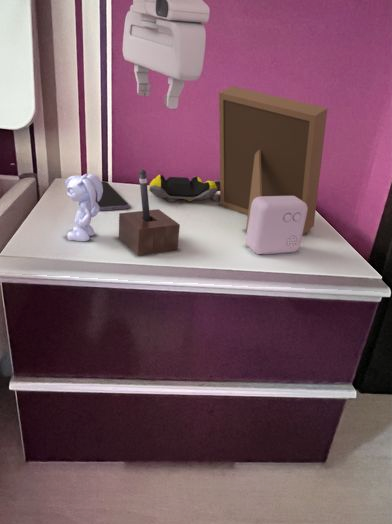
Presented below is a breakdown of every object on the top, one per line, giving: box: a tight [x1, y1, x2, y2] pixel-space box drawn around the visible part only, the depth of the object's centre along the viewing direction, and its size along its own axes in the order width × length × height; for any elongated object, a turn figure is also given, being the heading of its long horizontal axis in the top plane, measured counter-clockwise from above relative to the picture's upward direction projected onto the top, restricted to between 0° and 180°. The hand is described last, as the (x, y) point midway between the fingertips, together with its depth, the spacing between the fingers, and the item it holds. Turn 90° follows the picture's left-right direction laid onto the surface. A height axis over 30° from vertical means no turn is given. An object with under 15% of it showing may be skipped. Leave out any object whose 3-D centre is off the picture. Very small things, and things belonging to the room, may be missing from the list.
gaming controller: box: [148, 174, 218, 202], centre depth 127 cm, size 15×6×10 cm
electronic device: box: [245, 196, 308, 255], centre depth 106 cm, size 10×5×10 cm, turn 111°
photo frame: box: [218, 85, 328, 236], centre depth 114 cm, size 15×22×25 cm
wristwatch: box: [210, 180, 220, 202], centre depth 132 cm, size 4×6×5 cm
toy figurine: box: [64, 173, 103, 242], centre depth 101 cm, size 7×6×12 cm
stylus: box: [138, 169, 150, 222], centre depth 101 cm, size 1×1×14 cm
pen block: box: [118, 208, 181, 257], centre depth 103 cm, size 8×8×5 cm
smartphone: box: [95, 180, 129, 211], centre depth 123 cm, size 7×1×15 cm
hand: (156, 101), depth 91 cm, fingers open, 8 cm apart
